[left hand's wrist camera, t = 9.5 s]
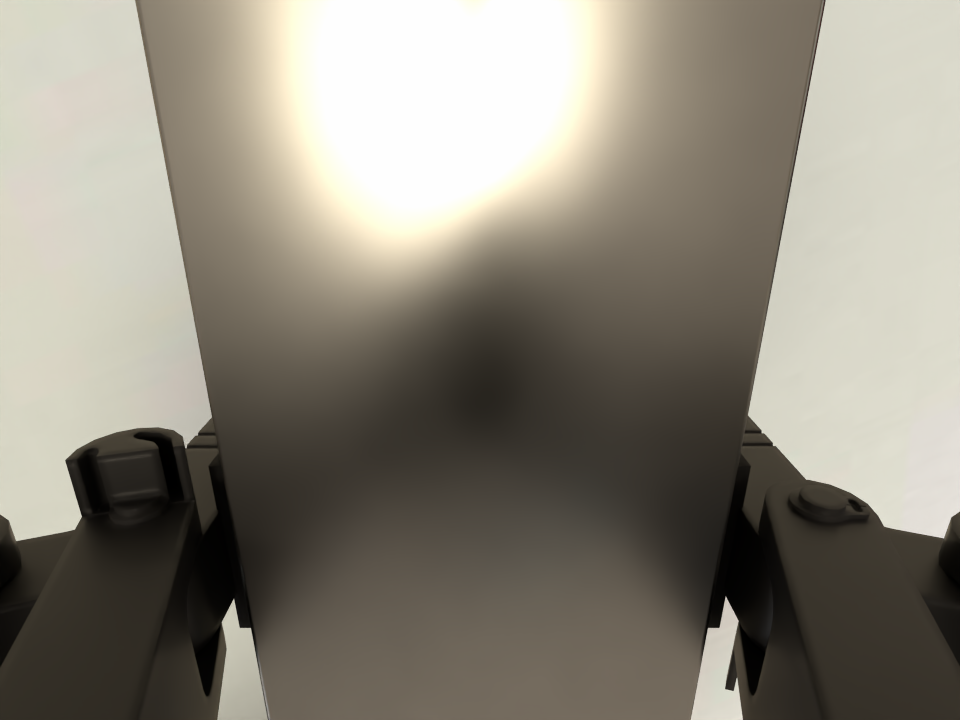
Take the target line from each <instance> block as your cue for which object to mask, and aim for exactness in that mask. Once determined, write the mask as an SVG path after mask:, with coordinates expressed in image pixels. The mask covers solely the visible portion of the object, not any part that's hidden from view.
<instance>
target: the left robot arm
mask: <svg viewBox="0 0 960 720" xmlns="http://www.w3.org/2000/svg"><path fill="white" fill-rule="evenodd" d="M65 461H66V464H67V468H68V471H69V475H70V478H71V481H72V485H73V488H74V491H75V495H76V498H77V501H78V505H79V508H80V511H81V515H82V518H81V520H80V522H79V523H78V525H77V527H76V529H75V530H72V531H68V532H63V533H58V534H53V535H47V536H42V537H37V538H31V539H26V540H21V541H16V540H15V537H14V534H13V531H12V529H11V526H10V523H9V520H7V519H6V518H4V517H3V516H1V515H0V720H217V717H218V709H219V702H220V694H221V687H222V679H223V672H224V664H225V657H226V643H225V636H224V631H223V627H222V620H223V618H224V617H225V615H226V613H227V611H228V609H229V607H230V605H231V603H232V601H233V599H234V600H235V605H236V610H237V615H238V620H239V625H240V628H251V625H250V619H249V614H248V608H247V603H246V597H245V592H244V587H243V581H242V576H241V570H240V565H239V559H238V554H237V549H236V543H235V538H234V532H233V527H232V522H231V516H230V511H229V505H228V500H227V494H226V489H225V484H224V478H223V473H222V467H221V462H220V457H219V451H218V446H217V440H216V435H215V429H214V424H213V419H212V418H211V419H210V420H209V421H208V422H207V424H206V425H205V426H204V427H203V428H202V429H201V430H200V431H199V432H198V436H195V437H194V438H193V439H192V440H191V441H190V443H189V444H188V445H187V449H185V446H184V441H183V436H181V435H180V434H178V433H177V432H175V431H174V430H169V429H163V428H137V429H132V430H127V431H122V432H116V433H113V434H110V435H108V436H105V437H102V438H99V439H96V440H94V441H92V442H90V443H88V444H86V445H84V446H82V447H81V448H79V449H77V450H76V451H75V452H74V453H73V454H72V455H70V456H69V457H68V458H67V459H66V460H65ZM725 597H727V599H728V601H729V603H730V605H731V607H732V609H733V611H734V613H735V615H736V617H737V618H738V620H739V622H738V627H737V631H736V636H735V641H734V646H733V650H732V655H731V660H730V665H729V669H728V674H727V680H726V687H725V689H727V690H732V691H734V687H735V682H736V678H738V685H739V693H740V700H741V708H742V715H743V720H960V512H959V513H957V514H956V515H954V516H953V517H952V518H951V520H950V523H949V526H948V529H947V532H946V535H945V537H944V539H943V538H938V537H933V536H927V535H922V534H917V533H911V532H906V531H901V530H895V529H891V528H887V527H884V526H883V524H882V522H881V520H880V519H879V517H878V515H877V514H876V513H875V512H874V511H873V510H872V508H871V507H870V506H869V505H868V504H867V503H865V502H864V501H862V500H861V499H859V498H858V497H856V496H854V495H853V494H851V493H849V492H847V491H844V490H842V489H839V488H837V487H834V486H832V485H829V484H824V483H820V482H816V481H811V480H806V479H805V478H804V477H803V476H802V475H801V474H800V473H799V471H798V470H797V469H796V468H795V467H794V466H793V465H792V464H791V463H790V461H789V460H788V459H787V458H786V457H785V456H784V455H783V454H782V453H781V452H780V450H779V449H778V448H777V447H776V446H773V443H772V442H771V441H770V439H769V438H768V437H767V436H766V435H765V434H762V433H761V429H760V428H759V427H758V426H757V425H756V424H755V423H754V422H753V421H752V420H751V418H750V417H749V416H747V422H746V427H745V432H744V438H743V443H742V448H741V454H740V459H739V464H738V470H737V475H736V480H735V486H734V491H733V496H732V502H731V507H730V512H729V518H728V523H727V528H726V533H725V539H724V544H723V549H722V555H721V560H720V565H719V571H718V576H717V581H716V587H715V592H714V597H713V603H712V608H711V613H710V619H709V624H708V628H719V627H720V622H721V617H722V612H723V607H724V602H725Z"/></svg>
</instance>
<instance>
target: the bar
mask: <svg viewBox="0 0 960 720" xmlns="http://www.w3.org/2000/svg"><path fill="white" fill-rule="evenodd" d="M135 1H136V7H137V12H138V18H139V23H140V28H141V34H142V39H143V45H144V50H145V55H146V61H147V66H148V72H149V77H150V83H151V88H152V93H153V99H154V104H155V110H156V115H157V121H158V126H159V131H160V137H161V142H162V148H163V153H164V158H165V164H166V169H167V175H168V180H169V186H170V191H171V196H172V202H173V207H174V213H175V218H176V223H177V229H178V234H179V240H180V245H181V251H182V256H183V261H184V267H185V272H186V278H187V283H188V289H189V294H190V299H191V305H192V310H193V316H194V321H195V326H196V332H197V337H198V343H199V348H200V354H201V359H202V364H203V370H204V375H205V381H206V386H207V391H208V397H209V402H210V408H211V413H212V419H213V424H214V429H215V435H216V440H217V446H218V451H219V457H220V462H221V467H222V473H223V478H224V484H225V489H226V494H227V500H228V505H229V511H230V516H231V522H232V527H233V532H234V538H235V543H236V549H237V554H238V559H239V565H240V570H241V576H242V581H243V587H244V592H245V597H246V603H247V608H248V614H249V619H250V625H251V630H252V635H253V641H254V646H255V652H256V657H257V662H258V668H259V673H260V679H261V684H262V690H263V695H264V700H265V706H266V711H267V717H268V720H691V715H692V709H693V704H694V699H695V693H696V688H697V683H698V677H699V672H700V667H701V661H702V656H703V651H704V645H705V640H706V635H707V629H708V624H709V619H710V613H711V608H712V603H713V597H714V592H715V587H716V581H717V576H718V571H719V565H720V560H721V555H722V549H723V544H724V539H725V533H726V528H727V523H728V518H729V512H730V507H731V502H732V496H733V491H734V486H735V480H736V475H737V470H738V464H739V459H740V454H741V448H742V443H743V438H744V432H745V427H746V422H747V416H748V411H749V406H750V400H751V395H752V390H753V384H754V379H755V374H756V368H757V363H758V358H759V352H760V347H761V342H762V336H763V331H764V326H765V320H766V315H767V310H768V304H769V299H770V294H771V288H772V283H773V278H774V272H775V267H776V262H777V256H778V251H779V246H780V240H781V235H782V230H783V224H784V219H785V214H786V208H787V203H788V198H789V192H790V187H791V182H792V176H793V171H794V166H795V160H796V155H797V150H798V144H799V139H800V134H801V128H802V123H803V118H804V112H805V107H806V102H807V96H808V91H809V86H810V80H811V75H812V70H813V65H814V59H815V54H816V49H817V43H818V38H819V33H820V27H821V22H822V17H823V11H824V6H825V1H826V0H135Z"/></svg>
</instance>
